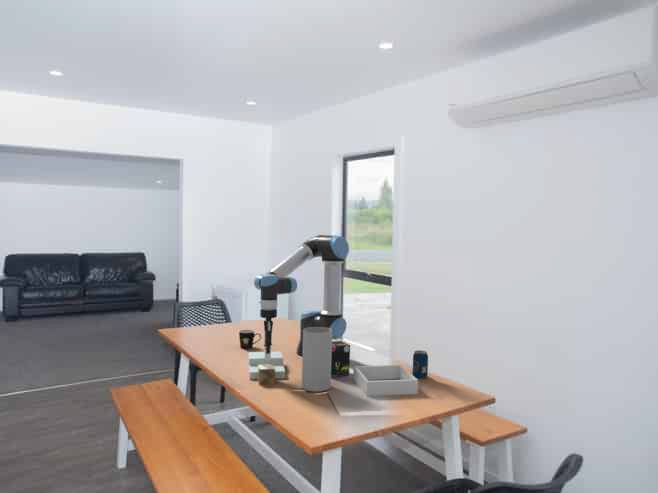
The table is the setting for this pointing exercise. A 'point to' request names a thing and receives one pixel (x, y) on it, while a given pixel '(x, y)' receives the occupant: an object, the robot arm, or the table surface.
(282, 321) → the table surface
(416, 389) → the tray
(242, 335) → the coffee mug
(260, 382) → the cube
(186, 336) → the table surface
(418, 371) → the soda can
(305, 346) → the cylinder vase
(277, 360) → the steps
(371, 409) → the table surface
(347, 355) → the tampon box
